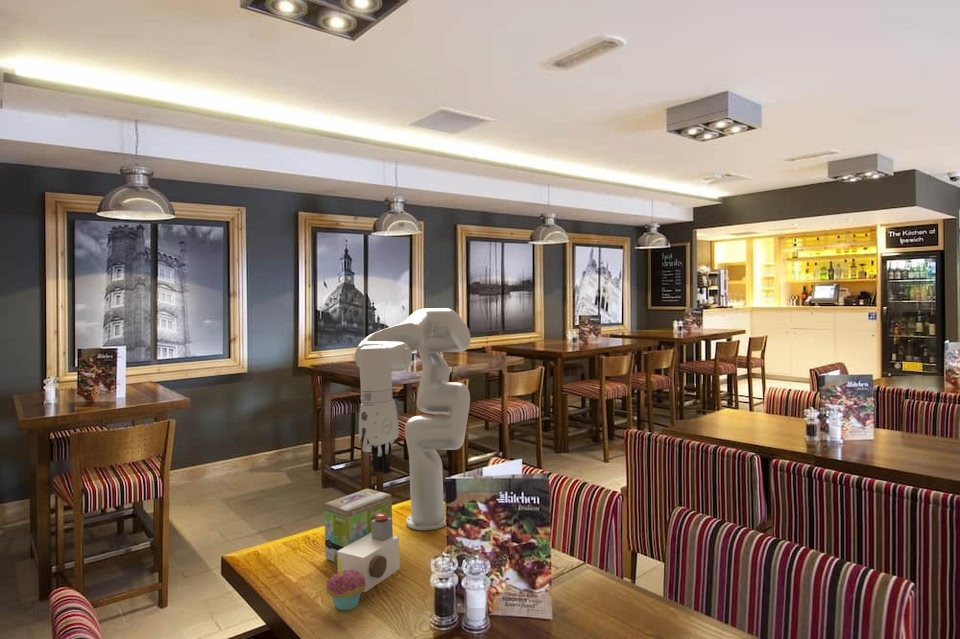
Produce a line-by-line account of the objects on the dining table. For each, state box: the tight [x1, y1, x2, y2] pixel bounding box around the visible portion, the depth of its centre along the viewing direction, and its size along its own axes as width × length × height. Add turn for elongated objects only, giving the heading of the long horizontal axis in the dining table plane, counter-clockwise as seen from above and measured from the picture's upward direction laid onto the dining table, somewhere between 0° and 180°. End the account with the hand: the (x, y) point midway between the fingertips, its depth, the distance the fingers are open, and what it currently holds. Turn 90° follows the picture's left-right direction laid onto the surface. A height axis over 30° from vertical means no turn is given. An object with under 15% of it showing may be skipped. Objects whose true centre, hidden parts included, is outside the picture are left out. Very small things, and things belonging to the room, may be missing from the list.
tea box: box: [323, 487, 393, 564], centre depth 160 cm, size 15×10×15 cm, turn 143°
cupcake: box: [325, 555, 366, 611], centre depth 134 cm, size 9×8×12 cm
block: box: [337, 517, 401, 593], centre depth 147 cm, size 13×8×12 cm, turn 150°
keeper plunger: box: [375, 512, 388, 522], centre depth 150 cm, size 3×3×5 cm
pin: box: [334, 551, 387, 578], centre depth 146 cm, size 13×5×5 cm, turn 60°
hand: (380, 470), depth 150 cm, fingers closed
